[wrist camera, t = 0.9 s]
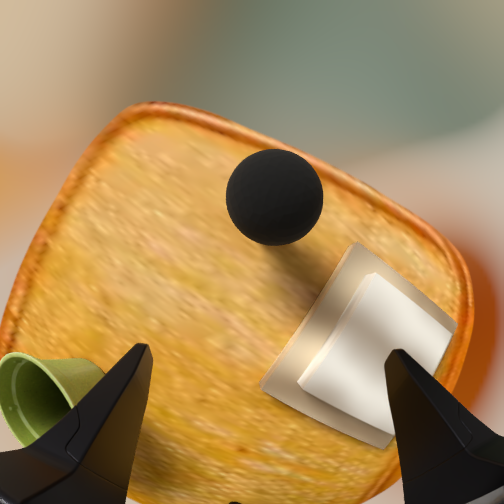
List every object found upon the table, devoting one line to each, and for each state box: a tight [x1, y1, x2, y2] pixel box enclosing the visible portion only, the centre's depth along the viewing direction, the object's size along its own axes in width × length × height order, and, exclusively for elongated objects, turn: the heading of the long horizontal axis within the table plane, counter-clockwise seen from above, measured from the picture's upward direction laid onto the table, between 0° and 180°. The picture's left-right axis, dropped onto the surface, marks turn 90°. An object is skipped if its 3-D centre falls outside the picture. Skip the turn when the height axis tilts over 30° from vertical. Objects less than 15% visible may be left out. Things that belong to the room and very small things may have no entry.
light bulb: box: [226, 149, 323, 246], centre depth 19 cm, size 6×6×10 cm
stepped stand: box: [259, 241, 458, 450], centre depth 20 cm, size 14×14×4 cm
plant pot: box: [0, 352, 105, 447], centre depth 16 cm, size 9×9×9 cm
